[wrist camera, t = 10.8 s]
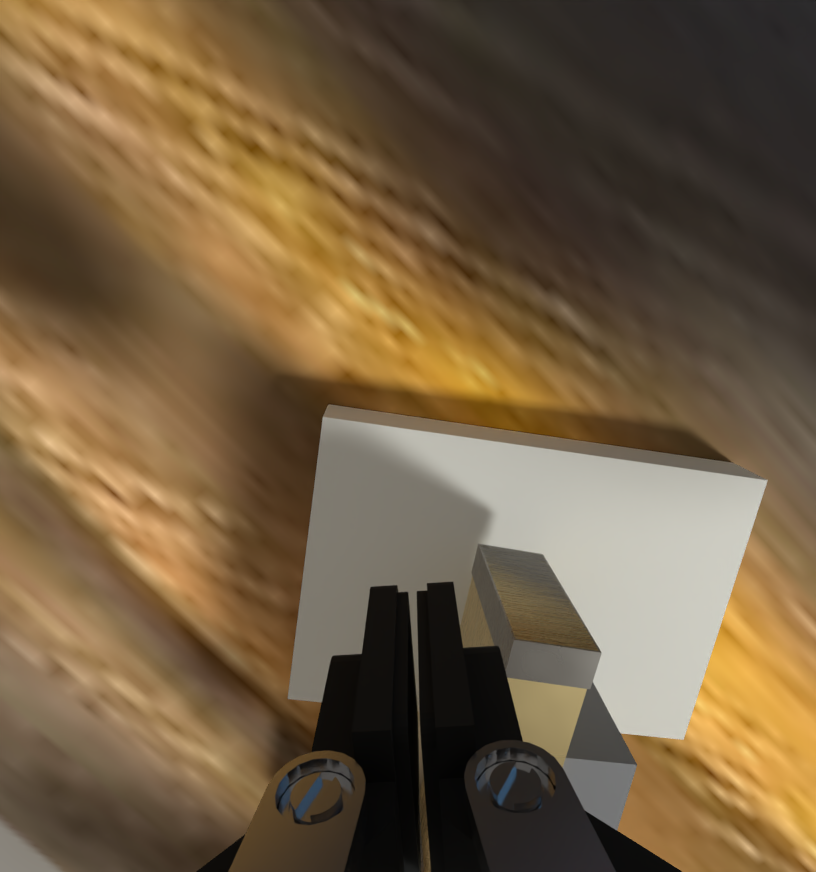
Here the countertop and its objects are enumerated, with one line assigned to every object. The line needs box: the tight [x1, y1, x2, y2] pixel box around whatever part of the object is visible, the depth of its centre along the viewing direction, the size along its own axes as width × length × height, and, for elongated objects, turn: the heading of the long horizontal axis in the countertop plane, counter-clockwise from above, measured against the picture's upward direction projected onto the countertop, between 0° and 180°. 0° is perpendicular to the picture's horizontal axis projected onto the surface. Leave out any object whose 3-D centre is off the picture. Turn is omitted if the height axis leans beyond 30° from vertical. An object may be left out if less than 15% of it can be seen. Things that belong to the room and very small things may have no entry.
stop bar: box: [420, 544, 602, 872], centre depth 17 cm, size 13×3×5 cm, turn 169°
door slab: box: [288, 404, 768, 830], centre depth 18 cm, size 10×15×8 cm
